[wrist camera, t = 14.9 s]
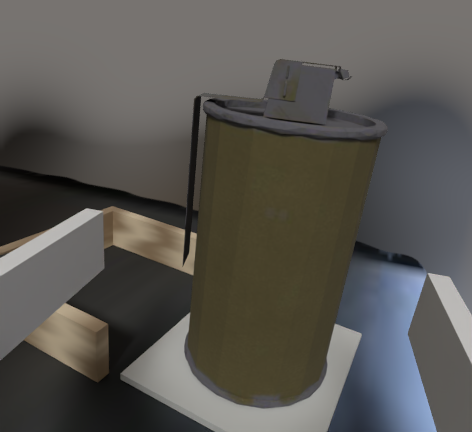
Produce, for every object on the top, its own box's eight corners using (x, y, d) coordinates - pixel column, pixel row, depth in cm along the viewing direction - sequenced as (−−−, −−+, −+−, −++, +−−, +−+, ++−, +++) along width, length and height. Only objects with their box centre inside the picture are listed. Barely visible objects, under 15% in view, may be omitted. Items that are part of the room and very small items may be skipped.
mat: (120, 379, 26) (120, 373, 26) (223, 286, 38) (224, 282, 38) (308, 483, 21) (310, 477, 21) (360, 338, 33) (361, 333, 32)
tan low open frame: (-35, 306, 31) (-42, 262, 30) (112, 239, 45) (112, 206, 43) (97, 382, 26) (96, 332, 24) (220, 279, 39) (223, 242, 38)
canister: (319, 319, 34) (375, 71, 26) (335, 422, 24) (433, 76, 17) (193, 300, 34) (214, 52, 27) (160, 393, 25) (179, 46, 17)
